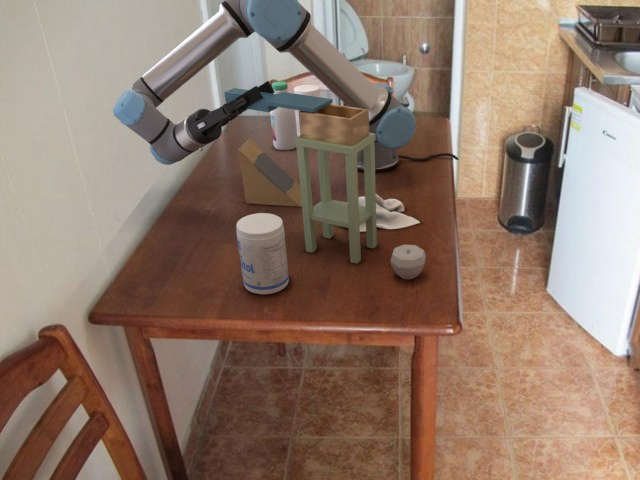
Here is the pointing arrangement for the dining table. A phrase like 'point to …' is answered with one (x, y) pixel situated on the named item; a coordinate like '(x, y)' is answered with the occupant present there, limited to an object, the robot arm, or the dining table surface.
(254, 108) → the lid
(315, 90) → the jar
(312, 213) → the stand
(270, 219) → the supplement tub
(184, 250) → the dining table surface
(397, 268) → the apple
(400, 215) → the cloth
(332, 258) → the dining table surface
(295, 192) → the sandwich container
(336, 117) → the tea box
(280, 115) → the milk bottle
